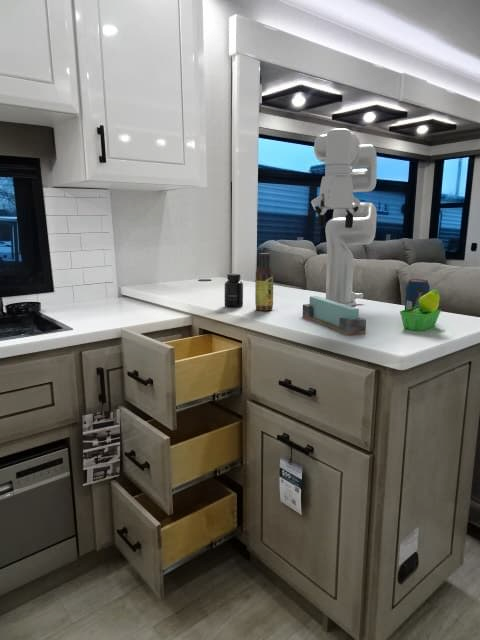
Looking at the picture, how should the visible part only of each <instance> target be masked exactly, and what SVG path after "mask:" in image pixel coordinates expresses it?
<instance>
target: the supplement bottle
mask: <svg viewBox="0 0 480 640" xmlns="http://www.w3.org/2000/svg"><path fill="white" fill-rule="evenodd" d="M226 277H227V278H226V279H227V280H226V281H225V282H224V307H225V308H228V309H240V308H242V307H243V305H244V283H243V282H242V281H241V274H240V273H228V274H227V275H226Z"/></svg>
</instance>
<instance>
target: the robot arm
mask: <svg viewBox="0 0 480 640" xmlns="http://www.w3.org/2000/svg"><path fill="white" fill-rule="evenodd" d="M360 143H361V142H360V139H359V138H358V135H357V134H355V133H354V132H351V130H350V129H348V128H333V129H330V130H328V131H327V133H326V134H320V135H318V136H317V137H316V138H315V140H314V145H313V149H314V155H315V157H316V159H317V160H318V162H320V163H324V164H325V165H324V166H325V167H324V168H325V171H324V172H325V173H324V175H323V176H322V178H321V182H320V186H319V187H320V188H319V196H317V197H315V198H314V199H312V200H311V201H310V203H311V205H312V207H313V211H314V212H315V213H316V215H317V217H318V219H317V220H318V221H317V225H318V228H319V229H325V231H324V232H325V239H326V253H327V254H326V279H325V280H326V284H325V288H326V289H325V299H328V300H331V301H334V302H338V303H341V304H344V305H347V306H351V307H354V306H355V305H357V301H356V299H363V298H364V293H363V292H360V293H359V292H358V293H356V292H355V291H353V281H354V280H353V277H354V262H355V261H354V255H353V252H352V251H351V250H350V248H348V246H350V245H358V246H359V245H369V244H371V243H373V241H374V239H375V238H376V232H377V231H376V230H377V218H378V216H377V213H378V212H377V208H376V205H375V204H374V203H372V202H367V201H366V202H362V201H361V200H360V199H358V198H357V197H355V196H354V193H364V192H366V193H367V192H371V191H373V190H374V189H375V188H376V186H377V185H376V184H377V177H378V176H377V170H378V169H377V168H378V167H377V166H378V165H377V163H378V162H377V161H378V160H377V159H378V158H377V151H376V148H375V147H374V146H373V145H372V144H360ZM328 210H333V213H332V218H331V219H329V220H328V221H327V222H326V220H327V216H326V212H327V211H328Z"/></svg>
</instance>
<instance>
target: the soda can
mask: <svg viewBox="0 0 480 640" xmlns="http://www.w3.org/2000/svg"><path fill="white" fill-rule="evenodd" d="M430 287H431V286H430V283H429V280H427V279H421V278H420V279H418V278H417V279H415V278H413V279H408V281H407V284H406V287H405V299H404V300H405V301H404V310H406V309H410V308H413V307H419V302H418V300H419V299H420V298H421V297H422V296H423V295H426V294H427V293H429V292H430V291H431V289H430Z"/></svg>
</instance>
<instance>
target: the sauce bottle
mask: <svg viewBox="0 0 480 640" xmlns="http://www.w3.org/2000/svg"><path fill="white" fill-rule="evenodd" d="M270 259H271V253H269V252H259V253H258V268H257V269H256V271H255V283H254V284H255V287H254V288H255V289H254V290H255V293H254V294H255V297H254V298H255V302H254V303H255V310H256V311H258V312H259V311H261V312H267V311H272V310H273V307H274V275H273V274H274V273H273V271H272V268H271V260H270Z"/></svg>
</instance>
